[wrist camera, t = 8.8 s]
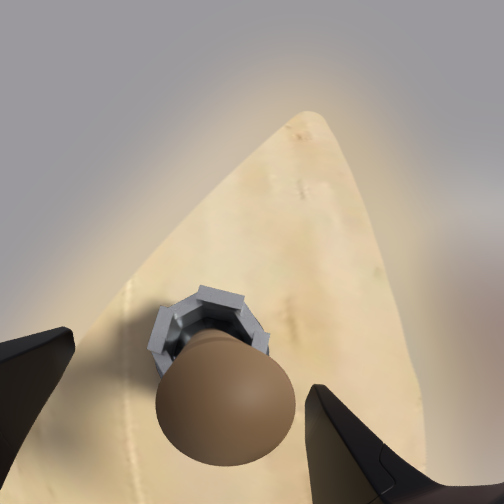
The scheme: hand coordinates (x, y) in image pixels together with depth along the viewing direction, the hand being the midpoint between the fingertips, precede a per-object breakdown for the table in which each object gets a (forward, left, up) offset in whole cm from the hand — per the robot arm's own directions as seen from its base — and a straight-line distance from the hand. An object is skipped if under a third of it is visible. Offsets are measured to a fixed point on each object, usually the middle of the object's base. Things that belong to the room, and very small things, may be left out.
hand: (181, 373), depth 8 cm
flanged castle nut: (+3, 0, -13) cm, 13 cm away
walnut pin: (+3, 0, -11) cm, 12 cm away
